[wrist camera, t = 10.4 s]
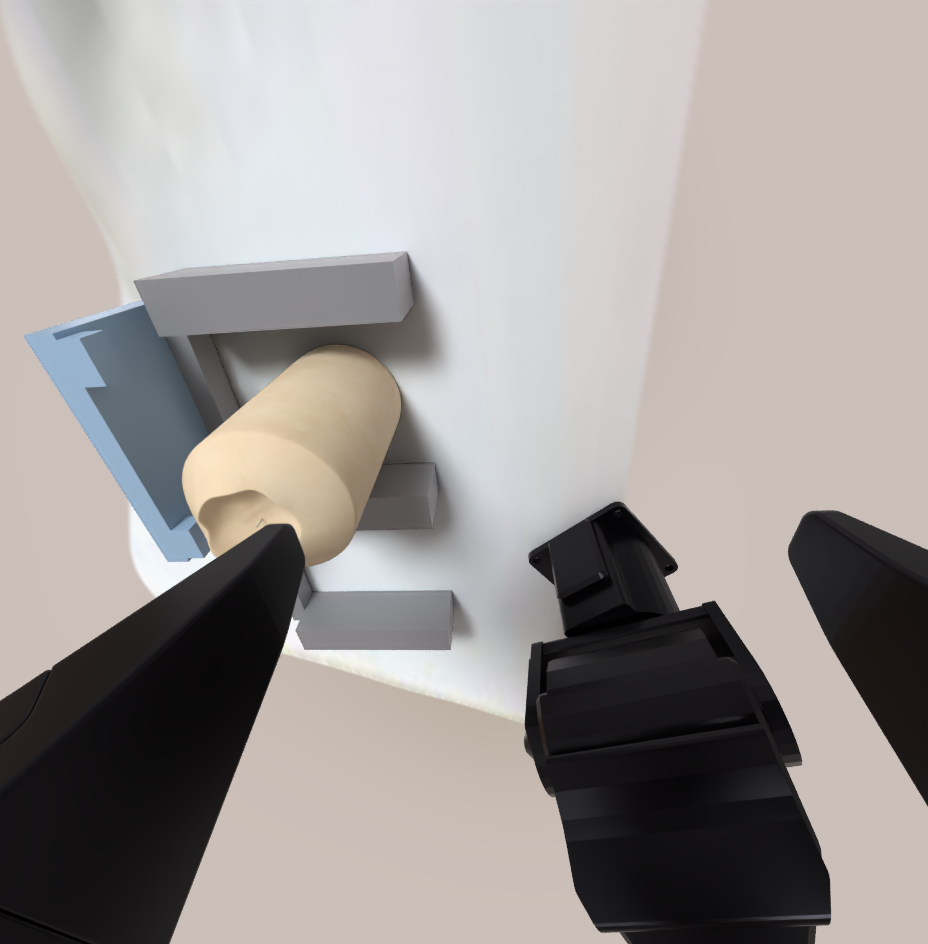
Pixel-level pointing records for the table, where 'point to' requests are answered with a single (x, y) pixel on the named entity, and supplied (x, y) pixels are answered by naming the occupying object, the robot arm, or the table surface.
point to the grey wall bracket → (213, 402)
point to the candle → (298, 454)
